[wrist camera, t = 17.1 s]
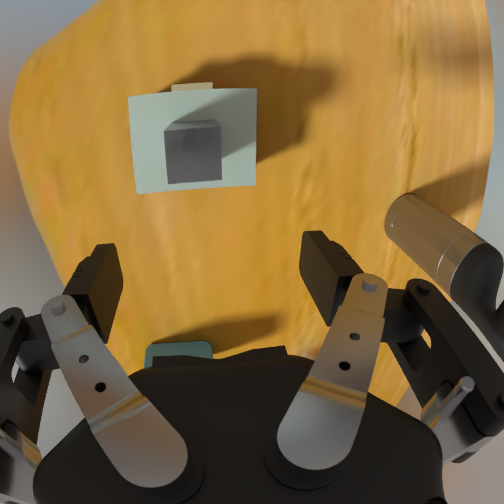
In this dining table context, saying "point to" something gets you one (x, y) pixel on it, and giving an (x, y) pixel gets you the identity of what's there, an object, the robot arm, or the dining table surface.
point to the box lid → (192, 109)
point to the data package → (178, 350)
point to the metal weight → (193, 151)
